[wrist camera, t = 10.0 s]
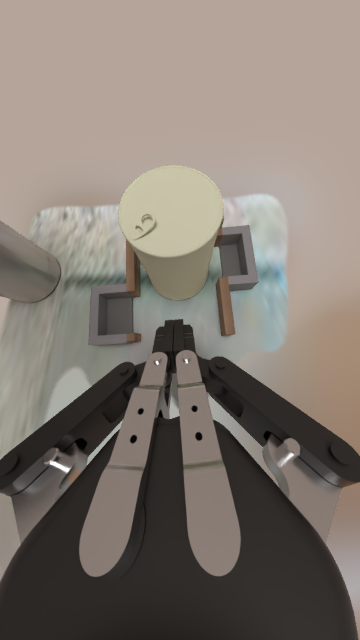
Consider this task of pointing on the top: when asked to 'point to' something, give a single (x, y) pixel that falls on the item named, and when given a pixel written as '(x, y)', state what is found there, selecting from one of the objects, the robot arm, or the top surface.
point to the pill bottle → (7, 533)
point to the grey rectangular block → (172, 227)
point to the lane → (221, 287)
